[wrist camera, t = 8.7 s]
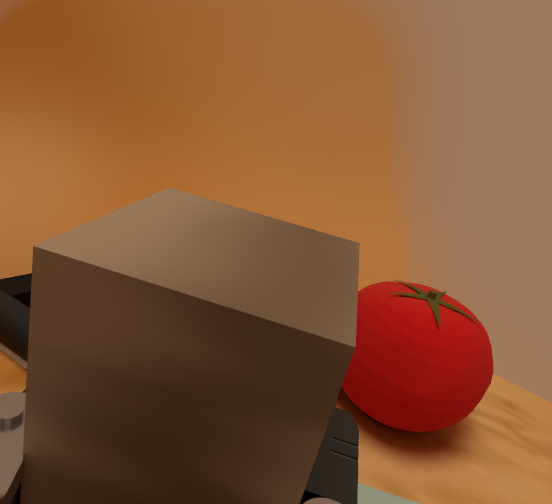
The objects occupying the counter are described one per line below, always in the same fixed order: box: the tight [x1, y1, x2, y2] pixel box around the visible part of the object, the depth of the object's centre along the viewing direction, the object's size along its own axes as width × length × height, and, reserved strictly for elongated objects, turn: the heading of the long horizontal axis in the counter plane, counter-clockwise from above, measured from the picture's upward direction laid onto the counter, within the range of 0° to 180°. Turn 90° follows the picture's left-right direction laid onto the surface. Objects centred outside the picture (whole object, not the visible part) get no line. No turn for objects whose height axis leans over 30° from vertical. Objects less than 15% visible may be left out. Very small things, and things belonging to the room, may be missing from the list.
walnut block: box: [20, 188, 359, 504], centre depth 10 cm, size 4×4×12 cm
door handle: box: [0, 273, 32, 370], centre depth 38 cm, size 3×20×16 cm
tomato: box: [342, 281, 493, 432], centre depth 35 cm, size 11×12×10 cm
